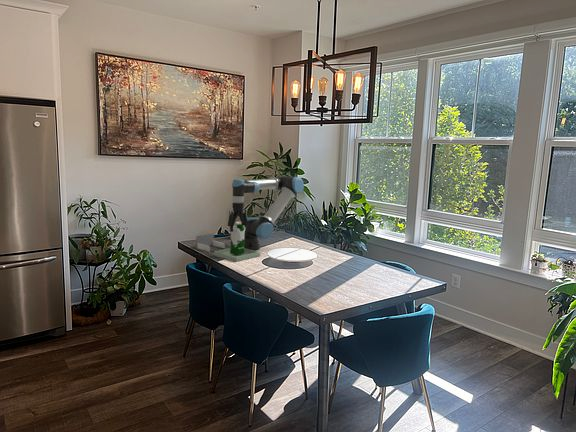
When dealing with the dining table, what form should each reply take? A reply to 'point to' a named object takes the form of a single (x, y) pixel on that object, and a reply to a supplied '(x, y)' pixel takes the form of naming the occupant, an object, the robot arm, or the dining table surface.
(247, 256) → the tray
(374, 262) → the dining table surface
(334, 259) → the dining table surface
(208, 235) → the dock
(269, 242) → the dining table surface
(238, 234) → the soya milk
